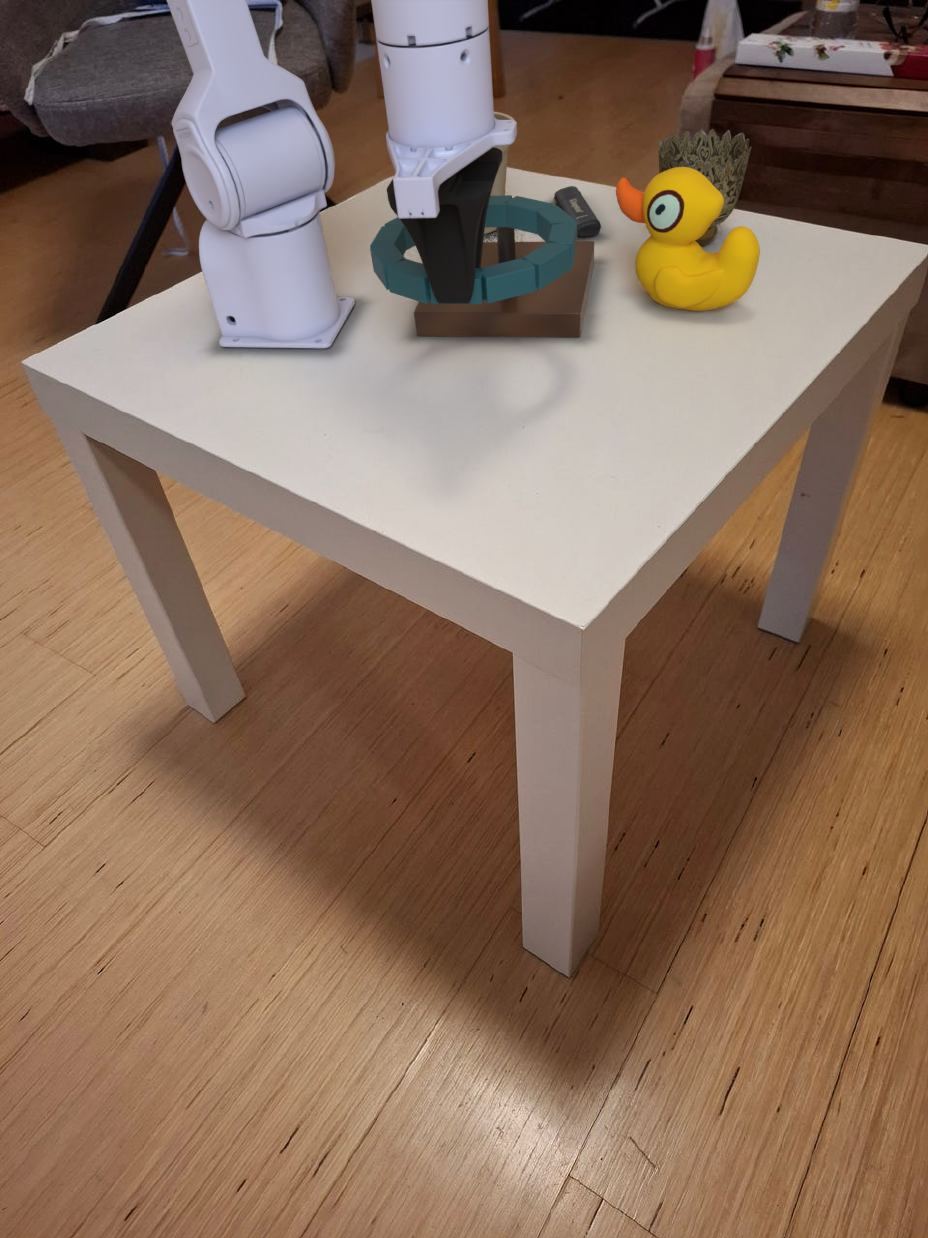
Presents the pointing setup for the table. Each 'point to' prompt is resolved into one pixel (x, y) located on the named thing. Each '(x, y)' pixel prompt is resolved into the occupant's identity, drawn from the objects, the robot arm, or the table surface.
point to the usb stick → (578, 211)
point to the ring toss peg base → (516, 300)
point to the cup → (710, 166)
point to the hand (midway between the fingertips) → (457, 292)
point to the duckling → (687, 242)
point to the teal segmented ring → (491, 279)
